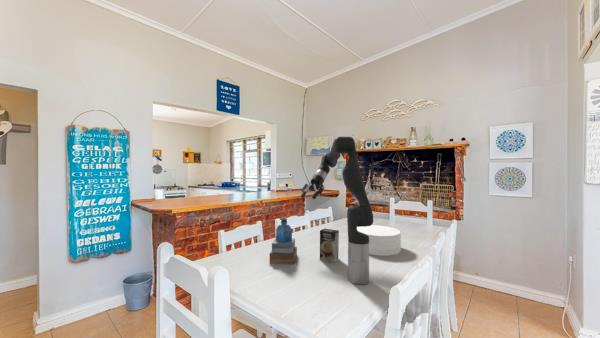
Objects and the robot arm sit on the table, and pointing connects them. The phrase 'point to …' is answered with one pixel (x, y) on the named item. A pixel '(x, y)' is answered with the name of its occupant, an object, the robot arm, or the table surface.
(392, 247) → the white short wide cylinder
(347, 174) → the robot arm
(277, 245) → the two-tone square pedestal
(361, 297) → the table surface
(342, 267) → the table surface
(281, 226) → the perfume bottle
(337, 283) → the table surface
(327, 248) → the coffee box
